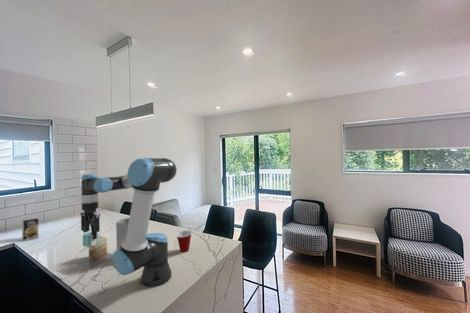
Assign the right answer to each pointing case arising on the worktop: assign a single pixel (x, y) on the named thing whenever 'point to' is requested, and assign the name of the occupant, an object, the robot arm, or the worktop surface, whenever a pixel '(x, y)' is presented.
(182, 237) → the plastic cup
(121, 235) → the cylinder vase
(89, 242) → the teal block
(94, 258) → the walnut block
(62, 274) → the worktop surface
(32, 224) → the coffee box
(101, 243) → the beech block
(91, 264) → the slate board
